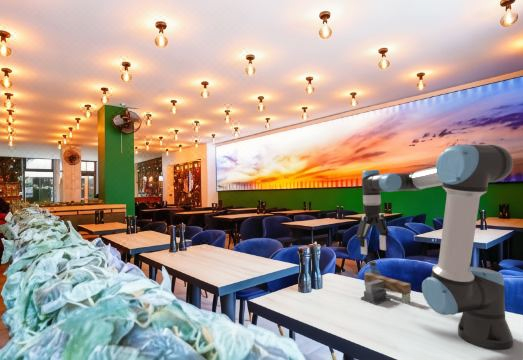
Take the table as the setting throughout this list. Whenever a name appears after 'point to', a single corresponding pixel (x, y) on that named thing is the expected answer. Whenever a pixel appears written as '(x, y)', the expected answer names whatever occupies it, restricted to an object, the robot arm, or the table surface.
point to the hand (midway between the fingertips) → (373, 252)
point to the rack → (403, 298)
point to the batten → (389, 283)
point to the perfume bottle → (373, 269)
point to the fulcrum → (375, 292)
